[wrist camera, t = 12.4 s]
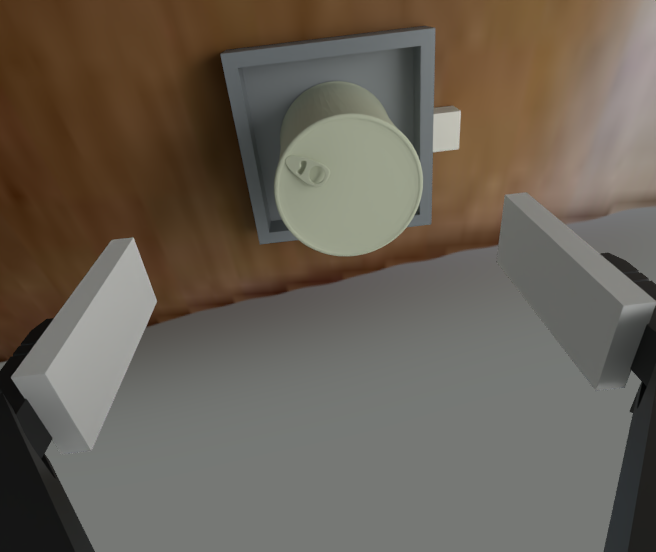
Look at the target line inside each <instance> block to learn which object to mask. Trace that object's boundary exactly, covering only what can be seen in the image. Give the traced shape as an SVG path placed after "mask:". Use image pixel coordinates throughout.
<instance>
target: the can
mask: <svg viewBox="0 0 656 552" xmlns="http://www.w3.org/2000/svg"><path fill="white" fill-rule="evenodd" d="M280 146H281V150H280V157H279V163H278V166H277V169H276V173H275V179H274V196H275V202H276V206H277V209H278V212H279V214H280V217H281V219H282V221H283V222H284V224H285V225H286V227H287V228H288V229H289V231H290V232H291V233H292V234H293V235H294V236H295V237H296V238H297V239H298V240H299V241H301V242H302V243H304V244H305V245H307V246H308V247H310V248H312V249H314V250H316V251H319V252H322V253H325V254H329V255H335V256H356V255H362V254H366V253H369V252H372V251H375V250H377V249H379V248H381V247H383V246H385V245H387V244H388V243H390V242H391V241H393V240H394V239H395V238H396V237H398V236H399V235H400V234H401V233H402V232H403V231H404V230H405V228H406V227H407V226H408V225H409V223H410V222H411V220H412V219H413V217H414V215H415V213H416V211H417V209H418V206H419V204H420V200H421V196H422V190H423V173H422V167H421V163H420V160H419V157H418V155H417V152H416V150H415V149H414V147H413V145H412V144H411V142H410V141H409V140H408V138H407V137H406V136H405V135H404V134H403V133H402V132H401V131H400V130H399V129H397V127H396V126H395V125H394V124H393V122H392V121H391V120H390V119H389V117H388V115H387V112H386V110H385V109H384V107H383V105H382V104H381V103H380V101H379V100H378V99H377V98H376V97H375V96H374V95H373V94H372V93H370V92H369V91H368V90H366V89H365V88H363V87H361V86H359V85H356V84H353V83H349V82H343V81H331V82H325V83H321V84H318V85H316V86H313V87H311V88H310V89H308V90H306V91H305V92H303V93H302V94H301V95H300V96H299V97H298V98H297V99H296V100H295V101H294V102H293V103H292V105H291V106H290V107H289V109H288V111H287V113H286V115H285V117H284V120H283V123H282V126H281V132H280Z"/></svg>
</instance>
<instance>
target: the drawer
mask: <svg viewBox="0 0 656 552" xmlns="http://www.w3.org/2000/svg"><path fill="white" fill-rule="evenodd" d="M220 55H221V60H222V65H223V70H224V75H225V79H226V84H227V89H228V94H229V99H230V103H231V108H232V113H233V118H234V122H235V127H236V132H237V137H238V142H239V146H240V151H241V156H242V161H243V166H244V170H245V175H246V180H247V185H248V190H249V194H250V199H251V204H252V209H253V213H254V218H255V223H256V228H257V233H258V237H259V242H260V244H267V243H276V242H284V241H293V240H298V239H297V238H296V237H295V236H294V235H293V234H292V233H291V232H290V231H289V229H288V228H287V227H286V225H285V224H284V222H283V221H282V219H281V217H280V214H279V212H278V209H277V206H276V202H275V196H274V179H275V173H276V169H277V166H278V163H279V157H280V150H281V146H280V132H281V126H282V123H283V120H284V117H285V115H286V113H287V111H288V109H289V107H290V106H291V105H292V103H293V102H294V101H295V100H296V99H297V98H298V97H299V96H300V95H301V94H302V93H303V92H305V91H306V90H308V89H310V88H311V87H313V86H316V85H318V84H321V83H325V82H331V81H343V82H349V83H353V84H356V85H359V86H361V87H363V88H365V89H366V90H368V91H369V92H370V93H372V94H373V95H374V96H375V97H376V98H377V99H378V100H379V101H380V103H381V104H382V105H383V107H384V109H385V110H386V112H387V115H388V117H389V119H390V120H391V121H392V122H393V124H394V125H395V126H396V127H397V129H399V130H400V131H401V132H402V133H403V134H404V135H405V136H406V137H407V138H408V140H409V141H410V142H411V144H412V145H413V147H414V149H415V150H416V152H417V155H418V157H419V160H420V163H421V167H422V173H423V190H422V196H421V200H420V204H419V206H418V209H417V211H416V213H415V215H414V217H413V219H412V220H411V222H410V223H409V225H408V226H407V227H412V226H421V225H429V224H431V212H432V164H433V152H439V151H447V150H455V149H459V136H460V117H461V111H460V110H459V109H457V108H456V107H454V106H447V107H439V108H434V67H435V28H433V27H428V26H419V27H411V28H403V29H395V30H387V31H378V32H370V33H362V34H354V35H345V36H337V37H329V38H321V39H313V40H304V41H296V42H288V43H280V44H272V45H263V46H255V47H247V48H239V49H230V50H226V51H224V52H223V53H221V54H220Z"/></svg>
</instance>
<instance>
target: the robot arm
mask: <svg viewBox="0 0 656 552" xmlns="http://www.w3.org/2000/svg"><path fill="white" fill-rule="evenodd" d="M496 262H497V263H498V265H499V266H500V267H501V268H502V270H503V271H504V272H505V273H506V275H507V276H508V278H509V279H510V280H511V281H512V283H513V284H514V285H515V287H516V288H517V289H518V290H519V292H520V293H521V294H522V296H523V297H524V298H525V300H526V301H527V302H528V304H529V305H530V306H531V307H532V309H533V310H534V311H535V313H536V314H537V315H538V317H539V318H540V319H541V320H542V322H543V323H544V324H545V326H546V327H547V328H548V330H550V332H551V333H552V335H553V336H554V337H555V339H556V340H557V341H558V342H559V344H560V345H561V347H562V348H563V349H564V350H565V352H566V353H567V354H568V356H569V357H570V358H571V359H572V361H573V362H574V363H575V365H576V366H577V367H578V368H579V370H580V371H581V372H582V374H583V375H584V376H585V377H586V379H587V380H588V381H589V383H590V384H591V386H592V387H593V388H594V389H595V391H599V390H607V389H616V388H625V385H626V383H627V380H628V378H629V375H630V372H631V370H632V371H633V372H634V373H635V374H636V375H637V376H638V378H639V379H640V380H641V381H642V382H641V385H640V387H639V389H638V392H637V394H636V397H635V400H634V402H633V404H632V407H631V409H630V412H632V413H633V416H632V420H631V425H630V430H629V435H628V439H627V445H626V449H625V453H624V458H623V464H622V468H621V473H620V477H619V482H618V487H617V491H616V496H615V501H614V505H613V510H612V515H611V520H610V524H609V529H608V534H607V538H606V543H605V548H604V552H656V284H655V283H653V282H652V281H649V279H648V278H647V277H646V276H645V275H643V274H642V273H639V272H638V270H637V269H636V268H634V267H633V266H632V265H631V264H630V263H628V262H627V261H625V260H623V259H621V258H619V257H617V256H614V255H612V254H610V253H602V254H599V253H598V252H597V251H596V250H595V249H593V248H592V247H591V246H590V245H589V244H587V243H586V242H585V241H584V240H583V239H581V238H580V237H579V236H578V235H577V234H576V233H574V232H573V231H572V230H571V229H570V228H568V227H567V226H566V225H565V224H564V223H562V222H561V221H560V220H559V219H558V218H556V217H555V216H554V215H553V214H552V213H551V212H549V211H548V210H547V209H546V208H545V207H543V206H542V205H541V204H540V203H539V202H537V201H536V200H535V199H534V198H533V197H531V196H530V195H529V194H528V193H527V192H526V193H517V194H508V195H505V199H504V207H503V215H502V222H501V230H500V238H499V246H498V253H497V261H496ZM156 302H157V300H156V297H155V294H154V292H153V289H152V286H151V284H150V281H149V278H148V275H147V273H146V270H145V267H144V265H143V262H142V259H141V256H140V254H139V251H138V248H137V246H136V243H135V240H134V238H125V239H116V240H111V242H110V243H109V244H108V246H107V247H106V248H105V250H104V251H103V252H102V254H101V255H100V257H99V258H98V259H97V261H96V262H95V263H94V265H93V266H92V267H91V269H90V270H89V272H88V273H87V274H86V276H85V277H84V278H83V280H82V281H81V282H80V284H79V285H78V287H77V288H76V289H75V291H74V292H73V293H72V295H71V296H70V297H69V299H68V300H67V302H66V303H65V304H64V306H63V307H62V308H61V310H60V311H59V312H58V314H57V315H56V316H55V318H52V319H46V320H45V321H43V322H42V323H41V324H39V325H38V326H37V327H36V328H34V329H33V330H32V331H31V332H30V333H29V334H28V335H27V337H26V338H25V339H24V341H23V342H22V343H21V346H19V347H18V348H17V350H16V351H15V352H14V353H13V357H10V359H9V360H8V361H7V362H6V364H5V365H4V366H3V368H2V369H1V371H0V552H95V551H94V549H93V547H92V545H91V543H90V541H89V539H88V537H87V535H86V533H85V531H84V529H83V527H82V525H81V523H80V521H79V519H78V517H77V515H76V513H75V511H74V509H73V507H72V505H71V503H70V501H69V499H68V497H67V495H66V493H65V491H64V489H63V487H62V485H61V483H60V481H59V479H58V477H57V475H56V473H55V471H54V469H53V467H52V465H51V463H50V461H49V459H48V458H47V457H46V455H45V454H44V453H45V451H46V450H47V447H48V446H49V444H50V442H51V440H52V441H53V442H54V444H55V445H56V447H57V448H58V450H59V451H60V453H61V454H70V453H78V452H87V451H91V450H92V448H93V446H94V444H95V441H96V439H97V437H98V435H99V432H100V430H101V428H102V425H103V423H104V421H105V419H106V416H107V414H108V412H109V409H110V407H111V405H112V402H113V400H114V398H115V396H116V393H117V391H118V389H119V387H120V384H121V382H122V380H123V378H124V375H125V373H126V371H127V369H128V366H129V364H130V362H131V359H132V357H133V355H134V353H135V350H136V348H137V345H138V343H139V341H140V339H141V336H142V334H143V332H144V330H145V328H146V325H147V323H148V321H149V318H150V316H151V314H152V312H153V309H154V307H155V305H156Z"/></svg>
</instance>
